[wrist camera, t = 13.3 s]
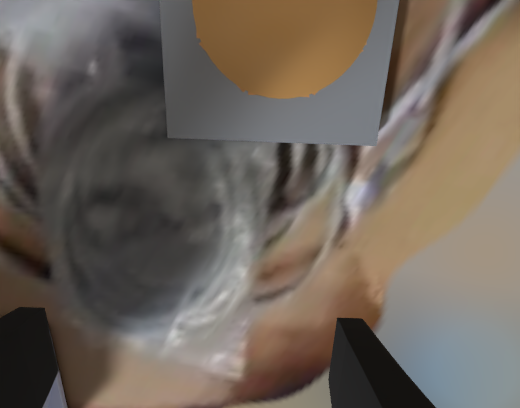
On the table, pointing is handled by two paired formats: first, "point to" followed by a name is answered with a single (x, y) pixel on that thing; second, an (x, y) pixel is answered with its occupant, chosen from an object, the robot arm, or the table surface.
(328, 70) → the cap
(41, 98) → the table surface
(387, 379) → the robot arm
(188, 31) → the stud block
